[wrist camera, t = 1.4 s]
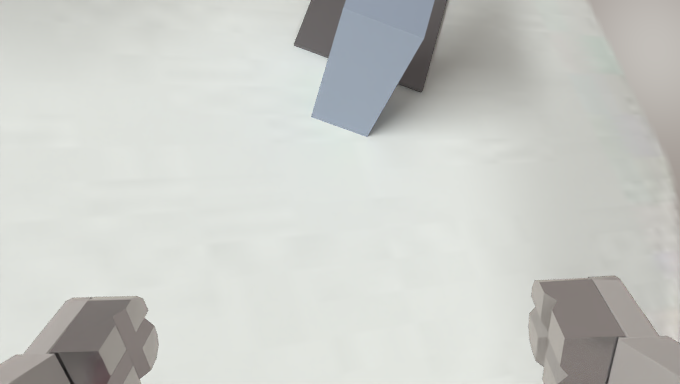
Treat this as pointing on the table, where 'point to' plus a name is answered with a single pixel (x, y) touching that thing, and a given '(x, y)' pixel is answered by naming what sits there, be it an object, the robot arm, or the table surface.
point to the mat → (323, 28)
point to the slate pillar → (369, 59)
